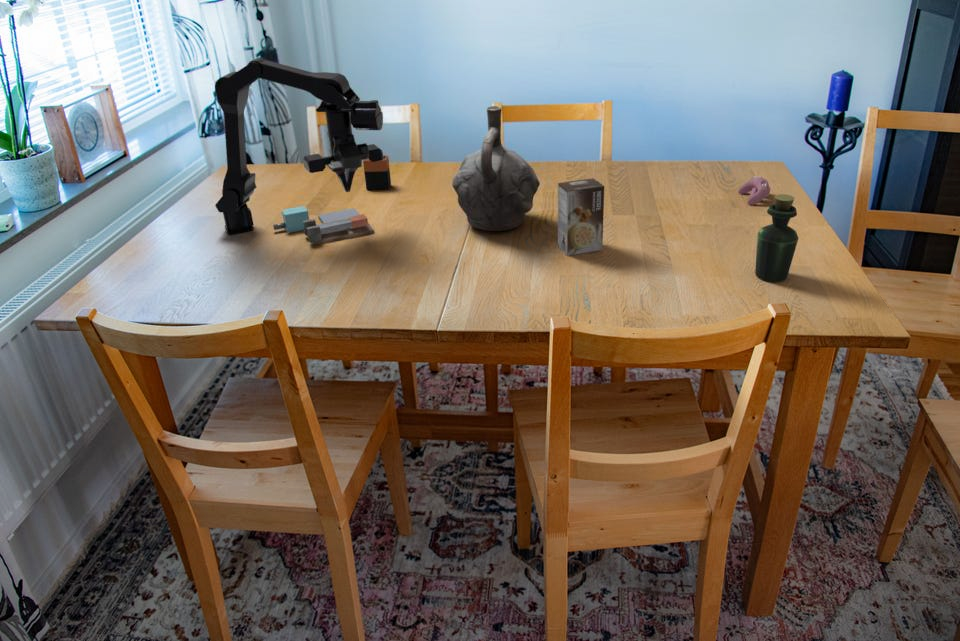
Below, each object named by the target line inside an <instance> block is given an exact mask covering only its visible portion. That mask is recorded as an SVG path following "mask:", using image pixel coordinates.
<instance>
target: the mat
mask: <svg viewBox="0 0 960 641" xmlns="http://www.w3.org/2000/svg"><path fill="white" fill-rule="evenodd" d="M357 215H361V214H360V213H359V212H358V211H357V210H356V208H355V207H353V208H346V209H342V210H336V211H331V212H325V213H319V214H317V216H318V220H319V221H320V222H321V224H323V223H327V222H332V221H337V220H342V219H346V218H349V217H352V216H357Z"/></svg>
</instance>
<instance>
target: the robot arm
mask: <svg viewBox="0 0 960 641" xmlns="http://www.w3.org/2000/svg"><path fill="white" fill-rule="evenodd" d="M259 79H261V80H265V81H268V82H272V83H275V84H279V85H283V86H288V87H291V88H295V89H298V90H302V91H305V92H306V93H308V94H309V93H310V95H312V96H313V97H314V98H316V99H318V100H320V101H321V102H320V103H319V106H318V107H317V108H316V109H315V111H316V112H317V113H324V114H325V120H326V128H327V137H328V142H329V153H330V155H328V156H321V154H319V153H314V154H309V155H304V157H303V158H302V163H303V167H304V168H305V170H306V171H307V172H308V173H310V174H313V173H314V174H315V173H320V172H321V173H322V172H324V170H325V169H326V168H328V169H329V170H330V171H331V172H332V173H335V174H336V176H337V179H339V182H340V184H341V185H342V187H343V190H344V191H345V193H349V192H351V190H352V189H351V188H352V185H353V180H354V177H355V173H356V171H357V170H358V169H360V168H362V166H363V160H365V159H367V158H368V159H369V160H370V161H372V162H375V161H381V160H383V154H384V152H383V150H382V149H381V148H380V147H379V146H377V145H376V144H374V143H373V144H368V143H364V142H363V143H359V144H357V142H356V140H355V135H354V134H353V129H355V130H357V131H381V130H382V128H383V125H384V124H383V123H384V116H383V115H384V114H383V111H382V108H381V106H380V105H379V100H378V99H377V100H376V99H372V100H361V98H360V97H359V96H358V95H357V93H356V92H355V91H354V89H353V88H352V87H351V86H350V83H349V80H348V79H347V77H346V75H344V74H342V73H337V72H329V71H328V72H327V71H326V72H323V71H322V72H314V71H313V72H312V71H308V70H304V69H301V68H297V67H292V66H290V65H285V64H282V63H278V62H275V61H271V60H268V59H266V58H264V57H255V59H252V60H250V61H249V62H248V63H247V64H246V65H245V66H244V67H242V68H241V69H239V70H238V71H232V72H230V73H227V74H225V75H223V76H221V77H219V78H218V79H216V81H215V84H214V91H215V95H216V100H217V104H218V105H219V107H220V109H221V111H222V112H223V120H224V123H223V124H224V136H225V137H224V138H225V150H226V151H225V152H226V164H227V165H226V168H227V169H226V172H225V176H224V179H223V182H222V190H221V192H222V194H221V195H222V196H221V197H220V198H219V200H218V201H217V202H216V203H215V208H216V209H217V211H218V213H222V215H223V220H224V224H225V225H224V228H225V230H226V233H227V235H234V234H241V233H244V232H250V231H253V230H254V227H253V226H254V220H253V214H252V210H251V209H250V208H249V207H248V204H247V203H248V202H249V201H250V198H251V196H253V194H254V191H255V189H256V188H257V185H256V173H255V172H254V173H253V172H250V170H249V169H248V166H247V150H246V149H247V148H246V130H245V128H246V127H245V114H244V113H245V109H246V106H247V103H248V100H249V94H250V86H251V85H253V84H254V83H255V82H257V81H258V80H259Z"/></svg>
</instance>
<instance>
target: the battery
mask: <svg viewBox="0 0 960 641" xmlns="http://www.w3.org/2000/svg"><path fill="white" fill-rule="evenodd" d="M362 166H363V173H364V181H365V189H366V190H367V191H386V190H387V191H389V189H390V188H391V185H392V180H391V179H392V178H391V171H390V170H391V169H390V160H389V156H388V155H385V153H383V160H381V161H375V162H372V161H370V160H369V159H368V158H367V159H365V160H362Z"/></svg>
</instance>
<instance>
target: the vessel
mask: <svg viewBox="0 0 960 641" xmlns="http://www.w3.org/2000/svg"><path fill="white" fill-rule="evenodd" d="M486 116H487V130H488V131H487V133H486V134H485V136H484V138H483V142H482V146H481V148H480V149H478V150H476V151H475V152H473V153H469V154H467V155H466V156H465V157H464V158H463V160H462V161H461V164H460V167H459V169H458V171H457V172H456V174H455V175H454V176H453V179H452V182H451V187H452V188H453V189H454V191H455V193H456V194H457V195H456V196H457V203H458V205H459V207H460V208H461V210H462V212H464V214H465V215H466V220H467V222H468V224H469V225H470V226H471V227H473V228H476V229H480V230H482V231H488V232H490V231H491V232H503V231H509V230H512V229H515V228H517V227H519V226H521V225H522V224H523V223H524V221H525V219H526V214H528V213H529V212H531V210H532V209H533V206H534V203H533V202H534V198H535V197H534V196H535V194H536V193H537V191H538V189H539V187H540V184H541V183H540V180H539V179H538V177H537V174H536V172H535V170H534V169H533V167H532V166H531V165H530V164H529V163H528V162H527V160H525V159H524V157H522V156H521V155H519V154H518V153H517V151H514V150H512V149H509V148H507V147H503V144H502V137H501V136H502V131H501V130H502V107H501V106H498V105H493V106H492V105H490V106H488V107H487V108H486Z"/></svg>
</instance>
